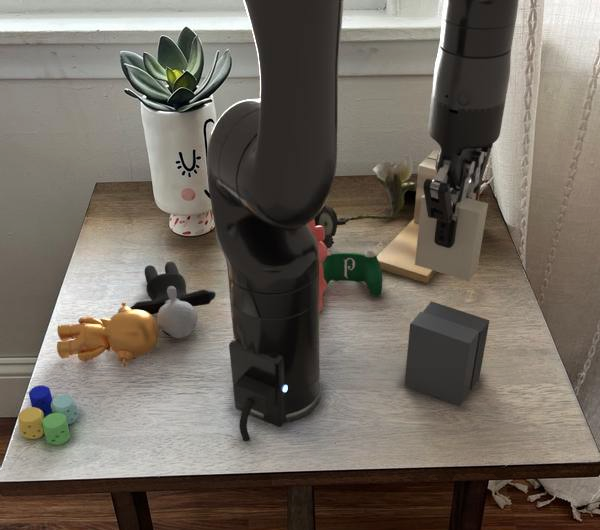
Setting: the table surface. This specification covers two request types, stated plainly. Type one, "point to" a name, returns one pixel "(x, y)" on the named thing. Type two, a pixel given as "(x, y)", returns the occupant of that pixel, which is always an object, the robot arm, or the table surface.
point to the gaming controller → (354, 269)
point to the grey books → (445, 352)
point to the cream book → (466, 246)
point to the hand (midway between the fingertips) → (449, 238)
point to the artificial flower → (396, 188)
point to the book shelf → (411, 233)
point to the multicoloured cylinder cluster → (48, 416)
